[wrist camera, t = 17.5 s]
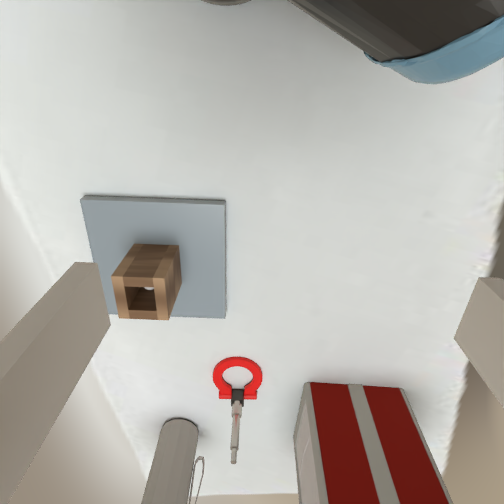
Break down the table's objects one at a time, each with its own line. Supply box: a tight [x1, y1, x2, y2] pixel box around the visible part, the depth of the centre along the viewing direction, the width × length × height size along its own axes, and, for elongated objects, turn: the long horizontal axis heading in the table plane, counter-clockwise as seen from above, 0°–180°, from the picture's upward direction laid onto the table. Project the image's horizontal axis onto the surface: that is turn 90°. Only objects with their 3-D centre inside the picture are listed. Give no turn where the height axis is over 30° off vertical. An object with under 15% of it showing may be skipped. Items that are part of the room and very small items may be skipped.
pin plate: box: [80, 196, 226, 319], centre depth 45 cm, size 18×18×7 cm
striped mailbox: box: [293, 382, 453, 504], centre depth 52 cm, size 16×18×27 cm
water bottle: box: [141, 419, 204, 504], centre depth 55 cm, size 9×8×25 cm
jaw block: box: [111, 244, 182, 320], centre depth 43 cm, size 6×6×8 cm
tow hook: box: [213, 357, 262, 464], centre depth 54 cm, size 8×13×9 cm
